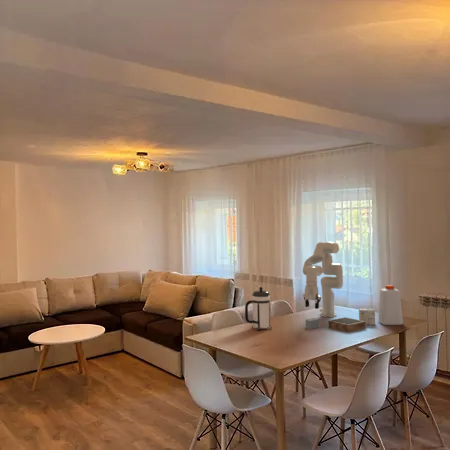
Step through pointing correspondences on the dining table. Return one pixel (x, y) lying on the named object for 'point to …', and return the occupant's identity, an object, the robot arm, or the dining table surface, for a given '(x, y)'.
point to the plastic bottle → (390, 306)
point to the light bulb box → (367, 316)
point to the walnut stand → (347, 324)
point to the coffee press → (260, 309)
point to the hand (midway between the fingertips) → (312, 307)
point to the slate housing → (312, 323)
